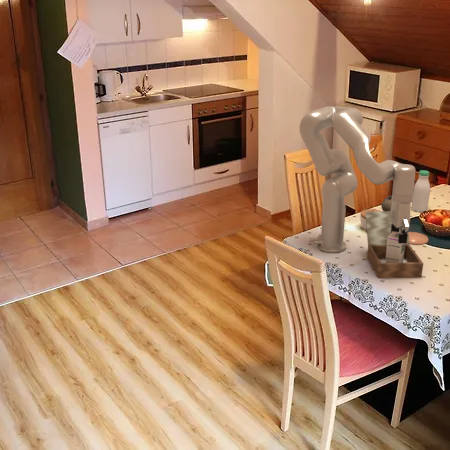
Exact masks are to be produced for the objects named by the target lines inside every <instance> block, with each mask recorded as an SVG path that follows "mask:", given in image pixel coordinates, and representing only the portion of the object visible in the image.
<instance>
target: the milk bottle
mask: <svg viewBox="0 0 450 450" xmlns="http://www.w3.org/2000/svg"><path fill="white" fill-rule="evenodd" d="M429 177H430V171H428V170H423V169H421V170H419V172H418V179H417V181H416V182H415V183H414V190H413V200H412V202H411V206H410V209H411V210H412V211H413V212H417V213H424V212H423V211H426V212H428V209H429V203H430V202H429V200H430V194H431V185H430V181H429Z"/></svg>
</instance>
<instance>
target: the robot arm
mask: <svg viewBox="0 0 450 450" xmlns="http://www.w3.org/2000/svg"><path fill="white" fill-rule="evenodd" d="M363 122H364V116H363V114H362V112H361V111H360V110H359V109H357V108H355V107H344V106H333V105H331V106H324V107H321V108H317V109H314V110H311V111H309V112H307V113H306V114H305V115H303V117H302V118H301V120H300V122H299V133H300V134H299V135H300V138H301V139H302V141H303V143H304V145H305V147H306V149H307V151H308V153H309V156H310V158H311V160H312V163H313V165H314V169H315V170H316V172H317V173H318V175H320V176H323V177H325V176H326V177H327V176H329V175H332V174H333V176H332V177H330V178H328V179H327V180H325V181H324V182H323V184H322V187H321V196H322V213H321V214H322V215H321V229H320V230H321V231H320V233H321V234H319V236H317V237H309V242H310V243H313V245H316V247H317V249H318V250H320V251H322V252H325V253H332V254H333V253H334V254H337V253H341V252H344V251H345V250H346V249H347V243H346V242H345V241H344V235H345V224H346V211H347V210H346V202H345V197H347V196H348V195H351V194H352V193H354V192H355V191H357V188H358V178H357V175H356V173H355V169H354V168H353V166H352V163H351V161H350V159H349V157H348V155H347V154H346V153H345V151H344V150H342V149H340V148H332V149H331V147H330V145H329V142H328V141H327V139H326V137H325V136H324V135H323V134H322V133H321V131H323V130H325V129H326V130H327V129H328V128H333V130H335V132H336V133H337V134H338V135H339V136H340V138H341V139H342V140H343V141H344V142H345V143H346V145H347V146H348V147H350V149H351V150H352V152H353V157H354V160H355V162H356V165H357V168H358V169H359V170H360V172H361V173H362V174H363V175H364V177H365V179H367V180H368V181H369V182H371V183H372V184H374V185H379V186H380V185H383V184H385V183H387V182H389V181H393V183H392V193H391V194H392V205H391V212H390V221H391V222H392V223H393V224H391V233H392V231H393V232H399V229H400V234H399V239H398V243H399V244H401V243H407V237H408V232H410V231H409V229H410V222H411V204H412V200H413V191H414V186H415V180H416V179H415V178H416V167H415V166H414V165H412V164H408V163H407V164H405V163H401V162H398V161H396V160H391V159H386V160H384V161H382V162H380V163H378V162H377V160H376V159H375V158H374V157H373V156H372V154H371V151H370V144H371V143H370V142H371V141H372V139H371V138H372V137H371V135H370V134H369V133H368V132H367V131H366V130H365V129H364V127H363V126H362V124H363ZM401 225H404V226H401ZM402 228H404V229H403V231H402Z"/></svg>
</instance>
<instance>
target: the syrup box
mask: <svg viewBox="0 0 450 450" xmlns="http://www.w3.org/2000/svg"><path fill="white" fill-rule="evenodd" d="M399 234H400V232H393V231H392V233H391V234H389V236H388V239H387V249H386V259H384V260H385V261H384V263H404V259H403V258H404V249H405V243H401V244H399V243H398V239H399Z"/></svg>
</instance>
